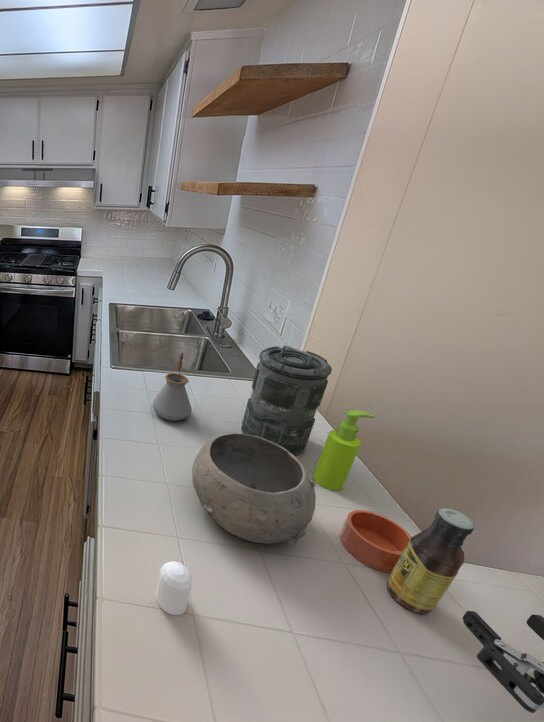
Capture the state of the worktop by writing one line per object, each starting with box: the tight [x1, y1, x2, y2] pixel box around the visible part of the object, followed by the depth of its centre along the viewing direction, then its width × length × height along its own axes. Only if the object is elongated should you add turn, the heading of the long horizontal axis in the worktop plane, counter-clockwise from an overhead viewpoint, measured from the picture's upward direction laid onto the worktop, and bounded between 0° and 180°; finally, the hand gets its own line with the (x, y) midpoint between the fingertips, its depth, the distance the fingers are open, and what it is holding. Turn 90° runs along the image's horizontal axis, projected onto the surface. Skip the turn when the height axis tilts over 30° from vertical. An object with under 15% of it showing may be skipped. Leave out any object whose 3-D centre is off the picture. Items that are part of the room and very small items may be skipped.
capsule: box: [154, 560, 193, 616], centre depth 66 cm, size 5×5×8 cm
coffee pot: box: [152, 352, 192, 422], centre depth 121 cm, size 21×12×15 cm, turn 155°
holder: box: [339, 509, 412, 574], centre depth 76 cm, size 10×10×5 cm
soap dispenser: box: [312, 409, 375, 492], centre depth 90 cm, size 6×7×20 cm
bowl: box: [191, 432, 316, 544], centre depth 82 cm, size 23×23×15 cm
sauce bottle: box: [386, 507, 475, 615], centre depth 64 cm, size 7×6×20 cm
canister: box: [240, 344, 333, 456], centre depth 103 cm, size 16×16×28 cm
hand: (499, 616), depth 54 cm, fingers open, 8 cm apart
